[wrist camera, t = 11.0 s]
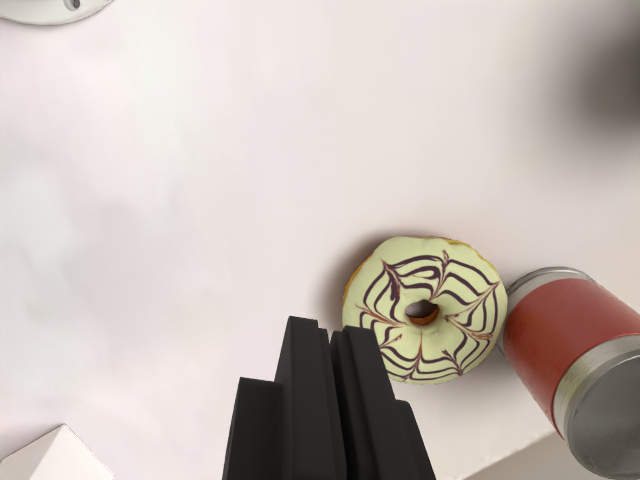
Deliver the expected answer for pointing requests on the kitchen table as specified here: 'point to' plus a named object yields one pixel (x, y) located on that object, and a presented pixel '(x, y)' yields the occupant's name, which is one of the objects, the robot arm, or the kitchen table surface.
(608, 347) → the tin can
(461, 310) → the decorated donut
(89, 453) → the milk
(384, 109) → the kitchen table surface
